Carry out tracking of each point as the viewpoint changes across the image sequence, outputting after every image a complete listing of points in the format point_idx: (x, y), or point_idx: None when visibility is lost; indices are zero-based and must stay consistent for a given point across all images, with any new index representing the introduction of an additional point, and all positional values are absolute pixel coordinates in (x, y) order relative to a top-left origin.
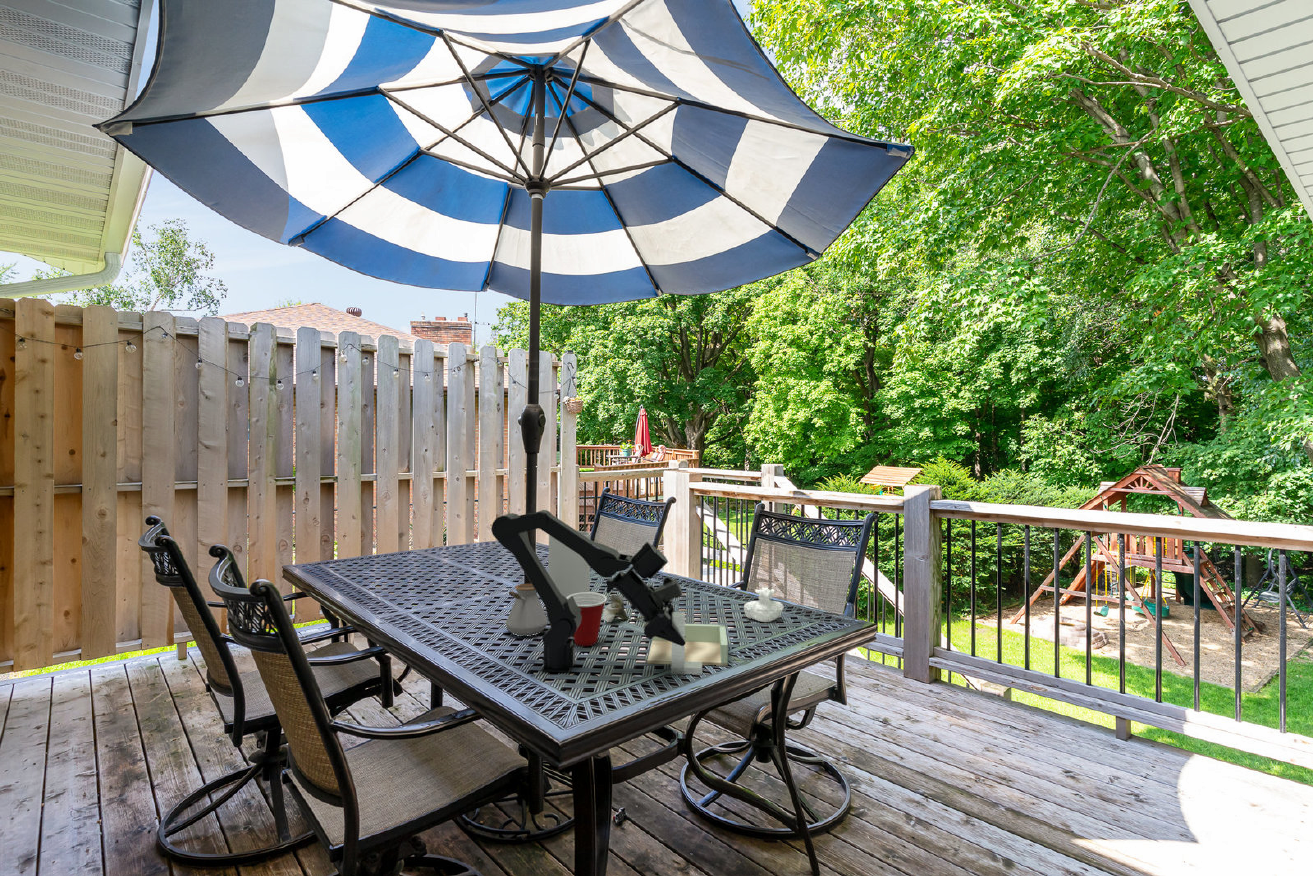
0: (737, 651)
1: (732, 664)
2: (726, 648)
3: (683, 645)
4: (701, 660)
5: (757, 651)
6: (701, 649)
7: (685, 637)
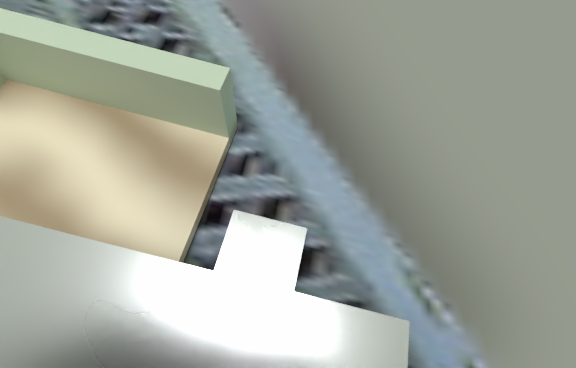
0: None
1: None
2: (230, 83)
3: None
4: (182, 201)
5: (133, 10)
6: (49, 165)
7: None
